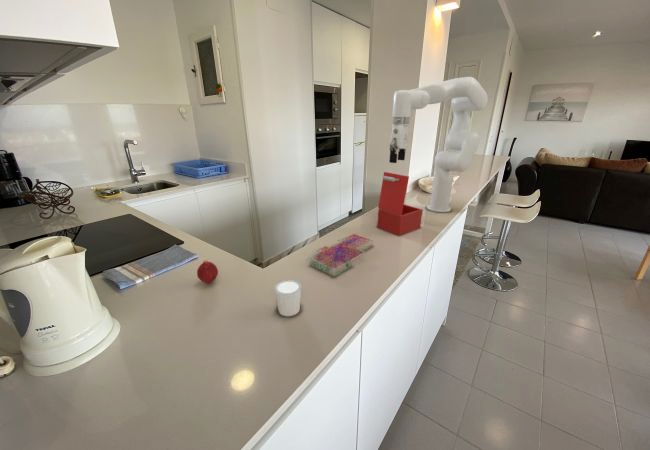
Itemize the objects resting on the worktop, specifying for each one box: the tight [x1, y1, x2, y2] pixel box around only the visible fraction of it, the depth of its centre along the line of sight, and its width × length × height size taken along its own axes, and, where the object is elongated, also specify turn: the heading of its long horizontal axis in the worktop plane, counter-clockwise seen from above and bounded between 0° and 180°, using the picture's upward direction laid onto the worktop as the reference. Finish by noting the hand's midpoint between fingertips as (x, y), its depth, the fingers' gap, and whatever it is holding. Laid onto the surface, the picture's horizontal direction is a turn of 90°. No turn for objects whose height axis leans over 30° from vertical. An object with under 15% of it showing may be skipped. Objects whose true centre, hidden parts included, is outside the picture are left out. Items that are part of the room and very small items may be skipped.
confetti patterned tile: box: [305, 232, 373, 277], centre depth 102 cm, size 30×15×5 cm, turn 137°
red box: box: [376, 203, 423, 236], centre depth 127 cm, size 16×13×9 cm
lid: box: [377, 171, 410, 216], centre depth 117 cm, size 16×13×5 cm
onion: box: [196, 259, 219, 284], centre depth 84 cm, size 6×6×8 cm
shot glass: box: [274, 279, 302, 317], centre depth 72 cm, size 7×7×7 cm
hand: (397, 161), depth 127 cm, fingers open, 9 cm apart
